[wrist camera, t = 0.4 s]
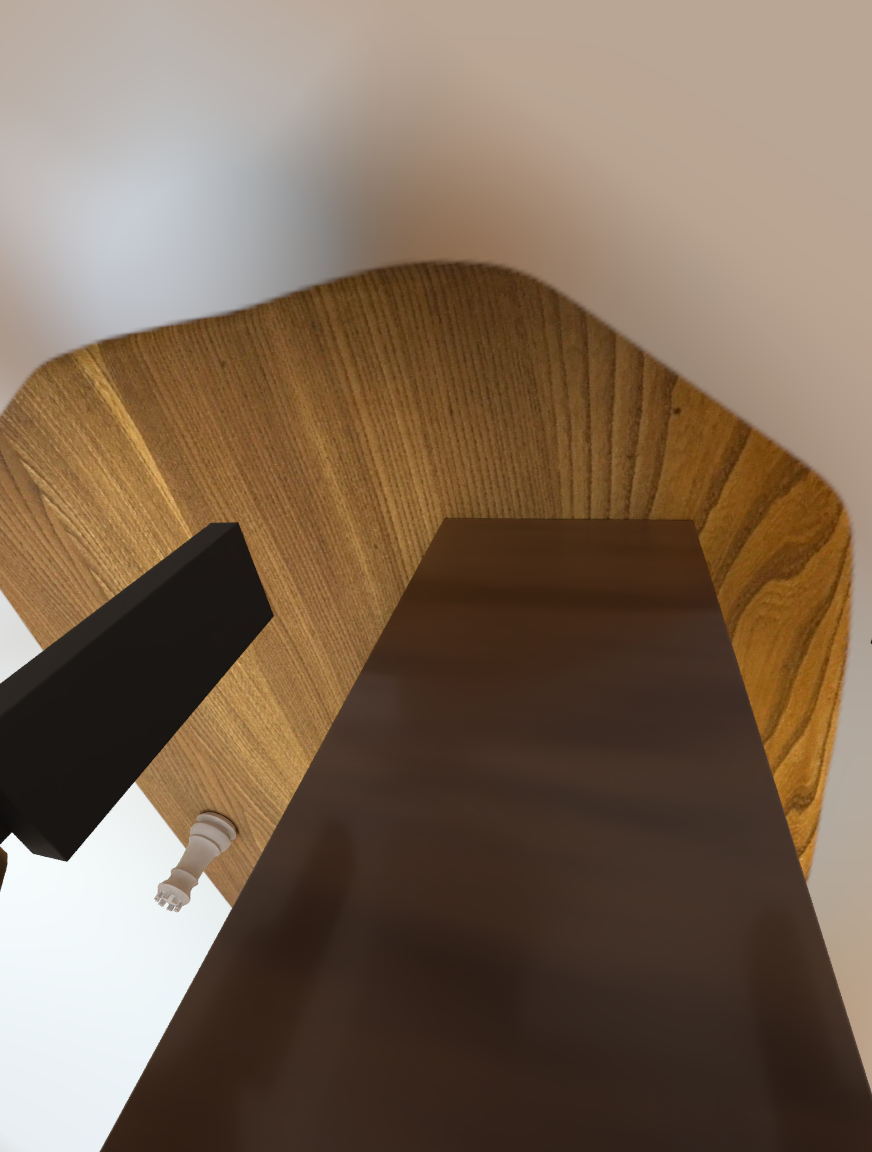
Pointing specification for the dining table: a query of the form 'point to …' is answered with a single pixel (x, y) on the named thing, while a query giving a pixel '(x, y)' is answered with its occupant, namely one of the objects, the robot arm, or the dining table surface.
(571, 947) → the stand
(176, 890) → the rook chess piece
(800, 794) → the dining table surface
